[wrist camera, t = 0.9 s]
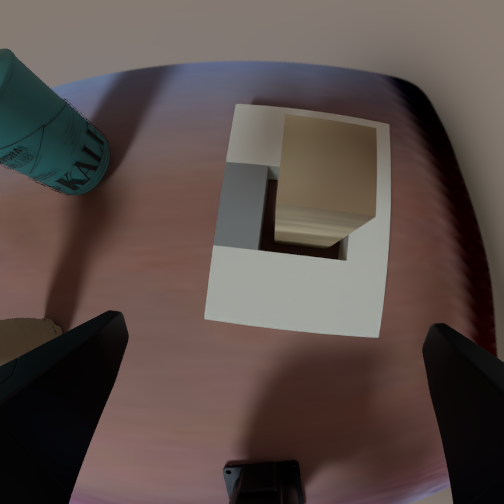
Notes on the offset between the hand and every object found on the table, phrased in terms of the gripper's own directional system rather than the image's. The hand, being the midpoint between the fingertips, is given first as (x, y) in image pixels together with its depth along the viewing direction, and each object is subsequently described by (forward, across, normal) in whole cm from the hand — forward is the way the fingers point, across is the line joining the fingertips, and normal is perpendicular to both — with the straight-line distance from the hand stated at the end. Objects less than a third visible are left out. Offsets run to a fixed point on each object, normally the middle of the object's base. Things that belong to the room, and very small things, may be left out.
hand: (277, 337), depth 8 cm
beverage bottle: (+19, +17, -2) cm, 26 cm away
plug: (+16, -2, +2) cm, 17 cm away
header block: (+16, -2, +2) cm, 17 cm away
